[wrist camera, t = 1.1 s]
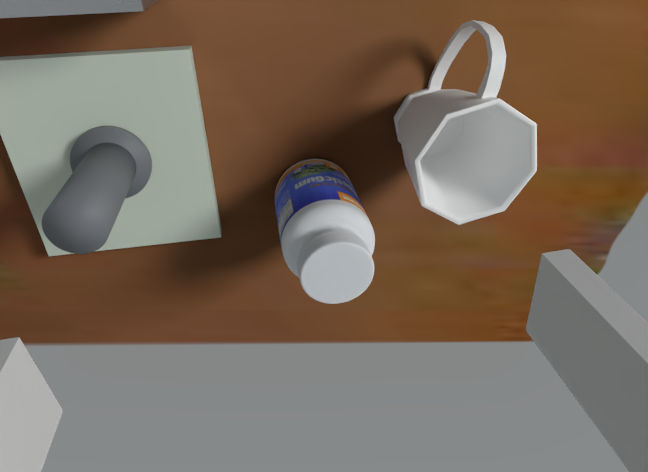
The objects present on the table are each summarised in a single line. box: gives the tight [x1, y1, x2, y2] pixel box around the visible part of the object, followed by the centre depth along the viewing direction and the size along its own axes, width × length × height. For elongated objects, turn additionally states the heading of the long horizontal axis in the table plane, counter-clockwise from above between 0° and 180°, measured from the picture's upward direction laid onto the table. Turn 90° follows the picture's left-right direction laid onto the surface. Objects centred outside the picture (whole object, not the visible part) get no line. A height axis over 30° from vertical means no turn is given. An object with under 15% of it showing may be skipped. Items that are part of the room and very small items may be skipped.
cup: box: [394, 20, 537, 225], centre depth 27 cm, size 7×10×8 cm
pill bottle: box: [275, 159, 375, 304], centre depth 29 cm, size 5×5×10 cm
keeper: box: [0, 46, 221, 256], centre depth 25 cm, size 12×11×9 cm
